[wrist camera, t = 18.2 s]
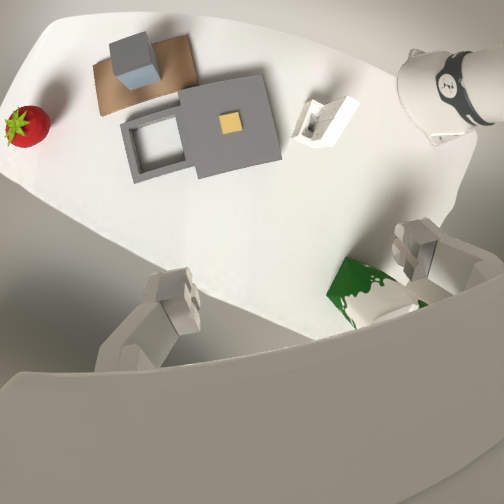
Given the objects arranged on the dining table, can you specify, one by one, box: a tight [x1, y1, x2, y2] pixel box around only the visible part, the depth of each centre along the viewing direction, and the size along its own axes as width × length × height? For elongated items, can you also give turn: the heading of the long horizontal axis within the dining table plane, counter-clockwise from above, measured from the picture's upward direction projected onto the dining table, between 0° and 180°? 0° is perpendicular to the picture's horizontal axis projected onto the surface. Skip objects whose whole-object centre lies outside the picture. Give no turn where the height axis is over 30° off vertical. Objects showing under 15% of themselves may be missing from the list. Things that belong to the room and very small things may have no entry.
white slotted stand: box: [291, 95, 360, 148], centre depth 34 cm, size 4×10×9 cm, turn 159°
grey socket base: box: [120, 74, 282, 184], centre depth 34 cm, size 19×12×4 cm, turn 103°
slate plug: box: [109, 31, 161, 91], centre depth 27 cm, size 4×4×8 cm
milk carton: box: [326, 258, 430, 329], centre depth 37 cm, size 9×9×20 cm
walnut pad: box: [93, 35, 198, 116], centre depth 31 cm, size 14×8×1 cm, turn 103°
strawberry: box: [5, 106, 50, 148], centre depth 26 cm, size 6×8×10 cm
